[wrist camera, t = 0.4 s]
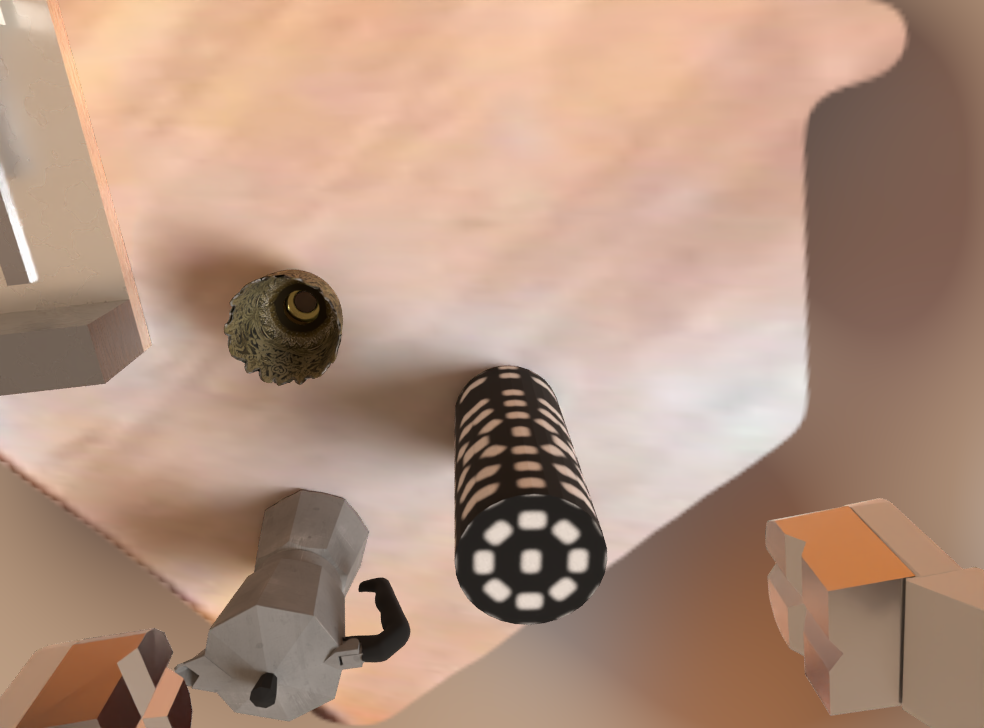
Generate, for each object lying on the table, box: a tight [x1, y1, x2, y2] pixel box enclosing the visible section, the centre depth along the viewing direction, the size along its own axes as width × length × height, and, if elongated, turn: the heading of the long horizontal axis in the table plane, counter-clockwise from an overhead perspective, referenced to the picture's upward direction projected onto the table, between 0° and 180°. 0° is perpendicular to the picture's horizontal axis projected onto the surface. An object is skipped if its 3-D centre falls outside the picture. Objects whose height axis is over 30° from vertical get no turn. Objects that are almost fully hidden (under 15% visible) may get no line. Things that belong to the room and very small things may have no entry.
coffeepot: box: [174, 490, 410, 721], centre depth 54 cm, size 15×9×18 cm, turn 97°
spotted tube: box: [455, 366, 607, 625], centre depth 50 cm, size 8×8×20 cm
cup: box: [224, 270, 343, 386], centre depth 52 cm, size 8×7×8 cm
